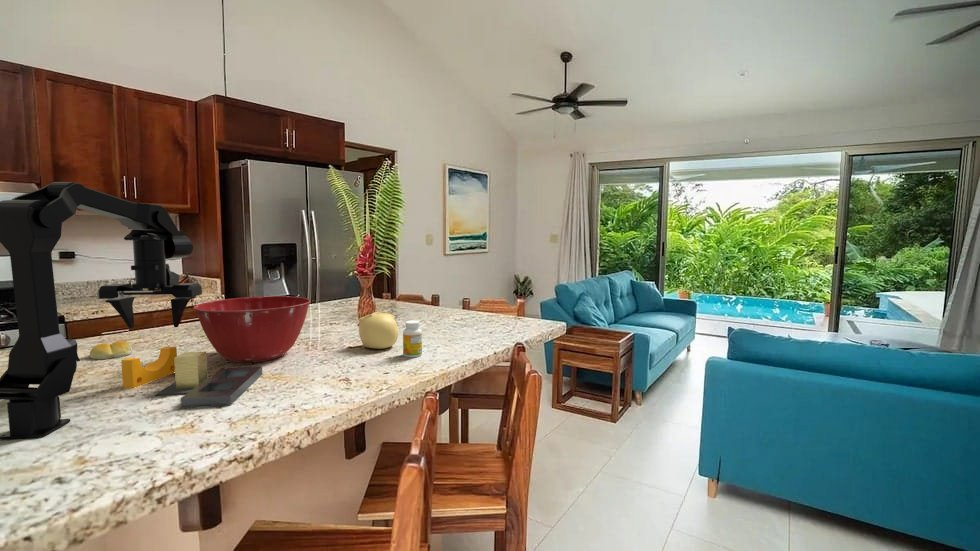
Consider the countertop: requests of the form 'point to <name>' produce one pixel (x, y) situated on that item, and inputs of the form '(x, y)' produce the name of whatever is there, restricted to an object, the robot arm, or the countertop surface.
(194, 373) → the pale yellow block
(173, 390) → the mat
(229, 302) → the mixing bowl
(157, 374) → the pipe clamp
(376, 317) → the pale yellow melon
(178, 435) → the countertop surface
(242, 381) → the gray slotted plate
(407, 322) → the supplement bottle
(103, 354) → the bread roll
